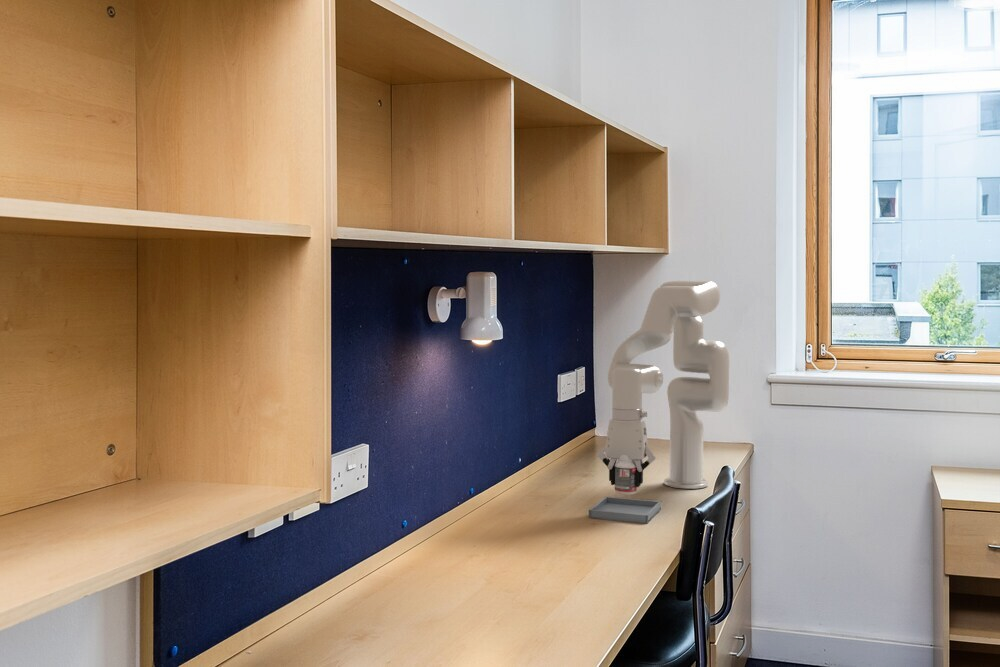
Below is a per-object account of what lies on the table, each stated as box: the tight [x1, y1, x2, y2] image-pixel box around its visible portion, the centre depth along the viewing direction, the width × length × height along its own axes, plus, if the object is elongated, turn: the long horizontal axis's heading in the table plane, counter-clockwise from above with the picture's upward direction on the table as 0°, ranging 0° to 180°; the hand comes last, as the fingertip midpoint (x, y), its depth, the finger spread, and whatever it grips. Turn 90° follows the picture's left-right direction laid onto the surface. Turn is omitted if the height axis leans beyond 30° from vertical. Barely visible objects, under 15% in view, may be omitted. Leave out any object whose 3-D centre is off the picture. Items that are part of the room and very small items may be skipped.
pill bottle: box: [614, 455, 638, 495], centre depth 249 cm, size 6×6×10 cm
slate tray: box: [588, 496, 662, 524], centre depth 249 cm, size 16×15×2 cm
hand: (625, 484), depth 249 cm, fingers closed on pill bottle, 5 cm apart
